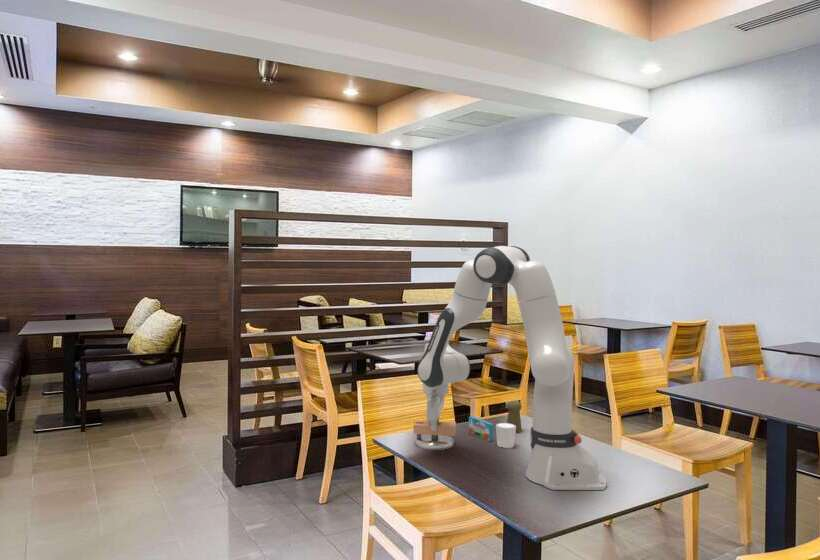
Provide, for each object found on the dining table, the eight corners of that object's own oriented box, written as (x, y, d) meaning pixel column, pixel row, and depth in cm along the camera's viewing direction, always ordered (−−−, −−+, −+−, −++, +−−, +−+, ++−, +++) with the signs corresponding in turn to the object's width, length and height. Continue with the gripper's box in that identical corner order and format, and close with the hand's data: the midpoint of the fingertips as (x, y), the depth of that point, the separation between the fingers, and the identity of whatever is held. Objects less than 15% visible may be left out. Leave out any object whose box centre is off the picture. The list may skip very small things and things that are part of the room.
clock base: (455, 439, 197) (455, 424, 197) (451, 451, 185) (452, 435, 185) (418, 437, 200) (419, 422, 200) (412, 449, 187) (413, 432, 187)
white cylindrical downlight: (511, 450, 187) (511, 429, 187) (492, 446, 191) (492, 426, 191) (518, 444, 193) (519, 424, 193) (500, 441, 197) (500, 421, 197)
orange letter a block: (456, 431, 194) (456, 422, 194) (454, 436, 188) (454, 427, 188) (416, 428, 196) (416, 420, 196) (413, 433, 190) (413, 424, 190)
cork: (523, 433, 206) (523, 403, 206) (506, 433, 206) (507, 403, 206) (520, 428, 212) (520, 399, 212) (504, 428, 212) (505, 399, 212)
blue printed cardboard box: (492, 441, 197) (492, 423, 197) (489, 441, 196) (489, 424, 196) (471, 432, 207) (471, 415, 207) (468, 432, 206) (468, 416, 206)
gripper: (441, 394, 181) (441, 437, 181) (447, 381, 201) (447, 419, 201) (422, 393, 182) (421, 435, 182) (430, 380, 202) (429, 418, 202)
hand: (435, 427), depth 192 cm, fingers closed on orange letter a block, 6 cm apart
